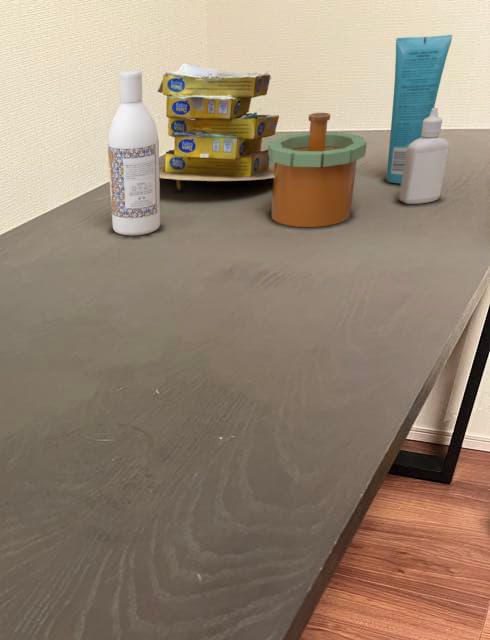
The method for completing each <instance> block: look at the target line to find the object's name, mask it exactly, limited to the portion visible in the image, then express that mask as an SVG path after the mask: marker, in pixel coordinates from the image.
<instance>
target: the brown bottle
mask: <svg viewBox="0 0 490 640" xmlns="http://www.w3.org/2000/svg"><path fill="white" fill-rule="evenodd" d="M330 120H331V113H330V112H329V113H328V112H313V113H310V114H309V115H308V122H310V124H309V132H310V134H309V145H308V147H305V148H298V149H291V150H295V151H328V150H335V149H341V148H336V147H325V141H326V132H328V131H327V129H328V121H330ZM357 162H358V160H356V161H354V162H352V163H350V162H349V164H342V165H335V166H328V167H323V166H321V167H293V166H286V165H282V164H278V163H274V165H273V166H274V167H273V168H274V178H272V179H273V180H272V181H273V182H272V195H271V196H272V197H271V210H270V211H271V212H270V213H271V214H270V217H271V219H272V220H273V221H275V222H276V223H278V224H281V225H285V226H289V227H297V228H320V227H329V226H332V225H333V226H334V225H337V224H340V223H343V222H345V221H347V220H348V219H349V218H350V216H351V211H352V202H353V193H354V186H355V176H356V170H357Z"/></svg>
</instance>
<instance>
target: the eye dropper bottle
mask: <svg viewBox="0 0 490 640" xmlns="http://www.w3.org/2000/svg"><path fill="white" fill-rule="evenodd" d="M442 124H443V118H440V117H439V111H438V107H434V108H432V110H431V113H430V116H429V117H428V118H426V119H424V120H423V126H422V132H421V136H422V137H421V138H419V139H417V140H415V141H413V142H412V143H411V144H410V145H409V146H408V148H407V152H406V158H405V164H404V170H403V176H402V182H401V184H400V187H399V188H400V189H399V195H398V200H399V201H400V202H401V203H403V204H406V205H419V204H420V205H421V204H427V203H428V204H429V203H431V202H435V201H438V200H439V199H440V197H441V193H442V189H443V184H444V178H445V172H446V167H447V163H448V162H447V161H448V155H449V149H450V142H449V141H448V140H447V139H445V138H443V137H440V136H441V135H440V134H441V129H442Z"/></svg>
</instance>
